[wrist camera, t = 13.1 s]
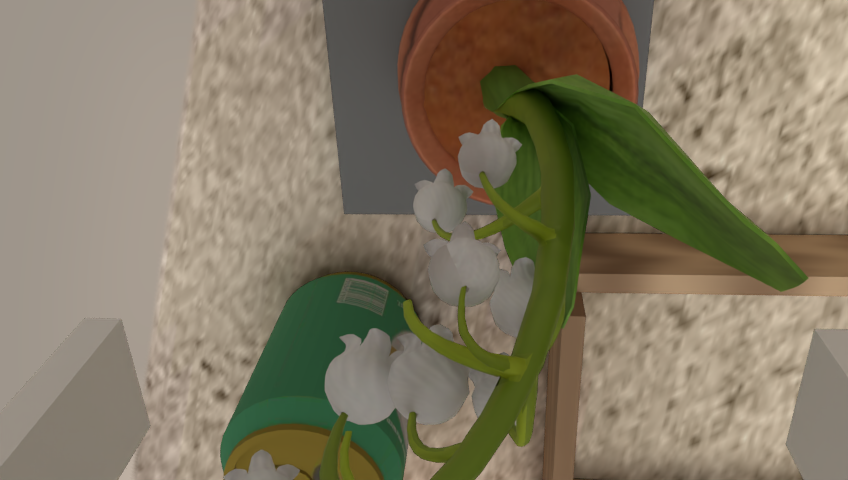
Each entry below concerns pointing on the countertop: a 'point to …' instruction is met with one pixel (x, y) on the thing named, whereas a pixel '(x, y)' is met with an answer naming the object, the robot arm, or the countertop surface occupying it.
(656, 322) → the countertop surface
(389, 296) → the beverage can
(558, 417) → the frame
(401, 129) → the mat
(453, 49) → the potted flower
